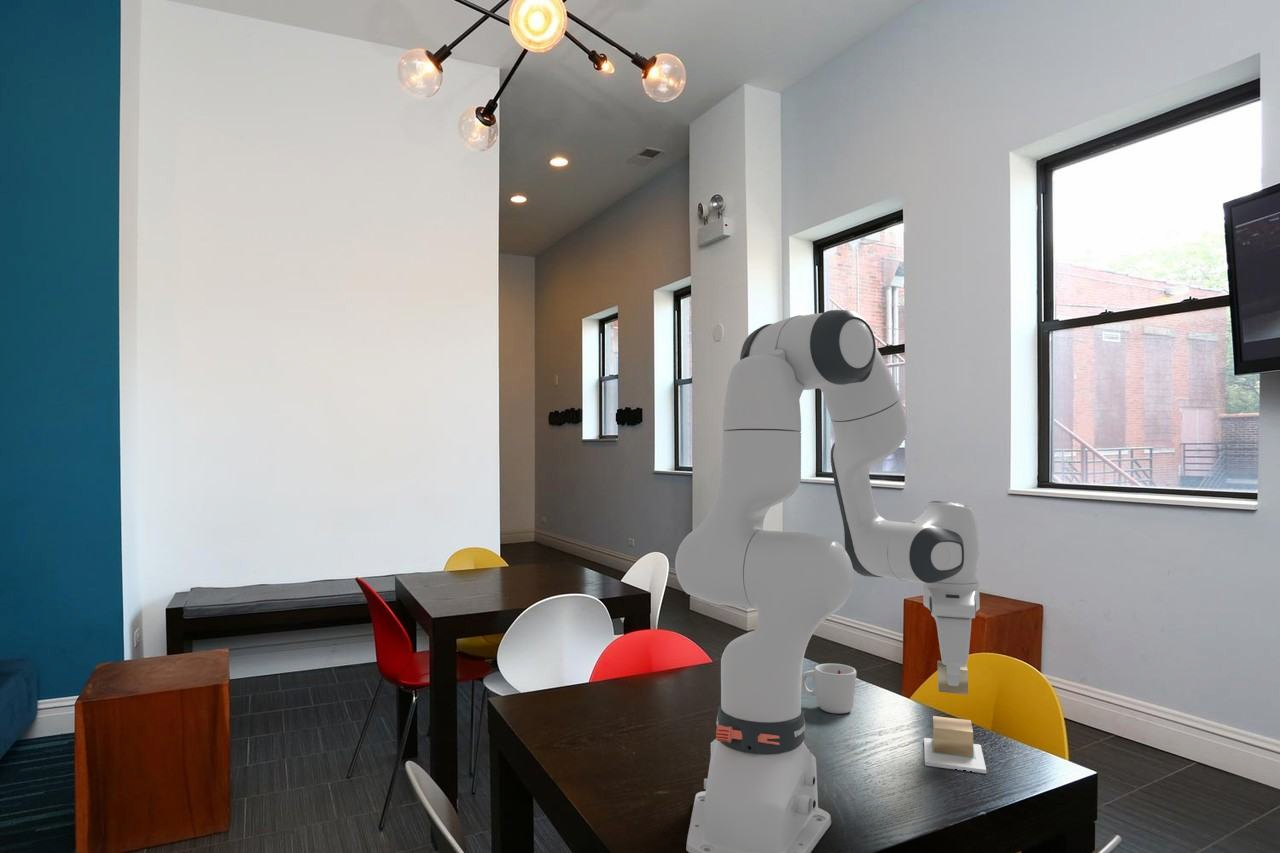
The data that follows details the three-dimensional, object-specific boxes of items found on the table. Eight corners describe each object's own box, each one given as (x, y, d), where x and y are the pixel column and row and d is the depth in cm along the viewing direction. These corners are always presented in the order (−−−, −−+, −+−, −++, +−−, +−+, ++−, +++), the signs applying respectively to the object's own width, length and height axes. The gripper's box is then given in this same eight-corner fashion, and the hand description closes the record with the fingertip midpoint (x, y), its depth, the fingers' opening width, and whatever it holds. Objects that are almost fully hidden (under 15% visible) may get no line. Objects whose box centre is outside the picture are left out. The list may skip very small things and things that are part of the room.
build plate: (986, 773, 117) (986, 769, 117) (924, 765, 120) (924, 761, 120) (980, 748, 127) (980, 744, 127) (924, 741, 130) (924, 737, 130)
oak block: (973, 757, 122) (973, 732, 122) (934, 752, 124) (933, 727, 124) (971, 744, 127) (970, 720, 127) (933, 739, 129) (933, 716, 129)
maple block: (968, 694, 123) (967, 670, 123) (938, 691, 125) (938, 667, 125) (966, 686, 127) (965, 663, 127) (937, 683, 129) (937, 660, 129)
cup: (795, 710, 146) (795, 669, 146) (806, 699, 153) (806, 659, 153) (851, 719, 141) (851, 676, 141) (860, 707, 148) (860, 666, 148)
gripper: (929, 585, 137) (930, 661, 137) (932, 607, 118) (933, 695, 118) (967, 587, 135) (968, 665, 135) (975, 609, 116) (977, 700, 115)
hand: (952, 679), depth 126 cm, fingers closed on maple block, 4 cm apart
